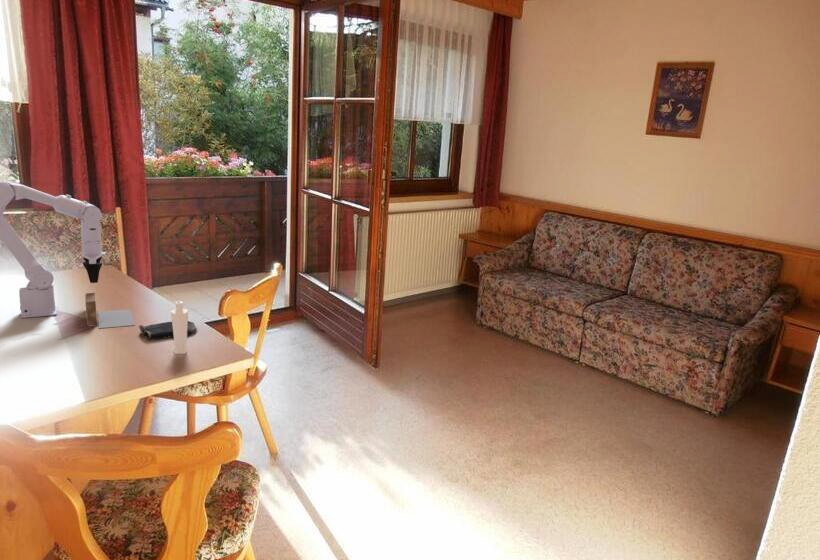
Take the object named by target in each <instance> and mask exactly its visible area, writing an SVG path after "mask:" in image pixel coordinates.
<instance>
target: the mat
mask: <svg viewBox="0 0 820 560" xmlns="http://www.w3.org/2000/svg"><path fill="white" fill-rule="evenodd" d="M97 322H98V329H99V330H100V329H109V328H121V327H123V328H124V327H132V326H133V325H134V326H136V324H135V320H134V315H133V311H132V309H129V308H128V309H120V310H119V309H118V310H104V311H98V312H97Z"/></svg>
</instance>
